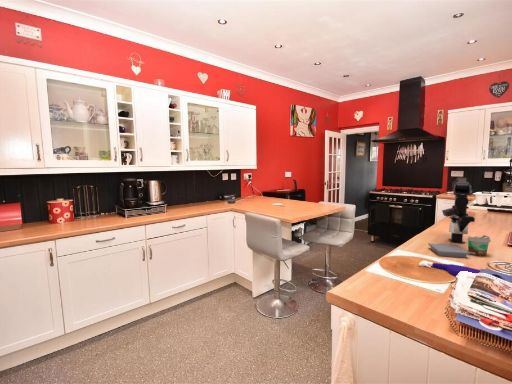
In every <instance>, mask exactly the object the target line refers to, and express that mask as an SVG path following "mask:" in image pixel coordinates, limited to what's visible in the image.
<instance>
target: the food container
mask: <svg viewBox="0 0 512 384" xmlns="http://www.w3.org/2000/svg"><path fill="white" fill-rule="evenodd" d="M491 242H492V241H491V237H490V236H488V235H486V234H483V235H482V236H468V237H467V243H468V245H467V248H468V249H467V252H469V253H470V255H469V256H475V257H487V254H488V249H489V245H490V243H491Z"/></svg>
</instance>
